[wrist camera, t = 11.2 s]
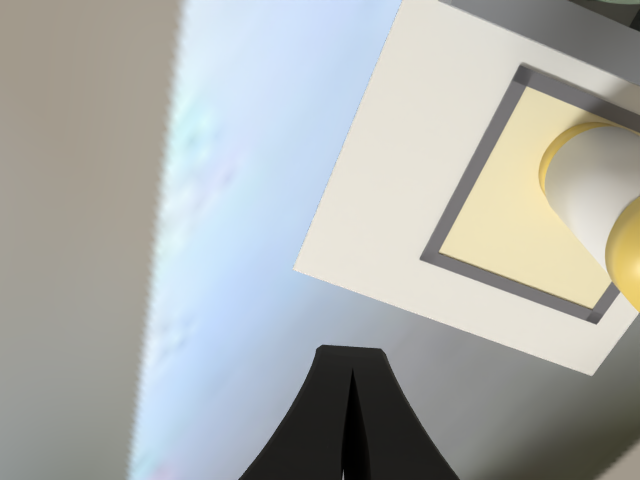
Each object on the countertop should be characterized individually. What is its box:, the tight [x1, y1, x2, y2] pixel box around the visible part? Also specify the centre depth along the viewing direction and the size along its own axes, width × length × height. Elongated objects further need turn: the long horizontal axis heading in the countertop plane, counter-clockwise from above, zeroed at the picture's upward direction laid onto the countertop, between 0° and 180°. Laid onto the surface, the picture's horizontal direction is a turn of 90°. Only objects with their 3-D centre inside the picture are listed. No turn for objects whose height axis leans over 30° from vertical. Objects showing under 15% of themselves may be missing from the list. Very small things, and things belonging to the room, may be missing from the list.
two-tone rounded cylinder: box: [538, 122, 640, 313], centre depth 16 cm, size 4×4×7 cm
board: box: [293, 0, 640, 376], centre depth 19 cm, size 18×13×1 cm
